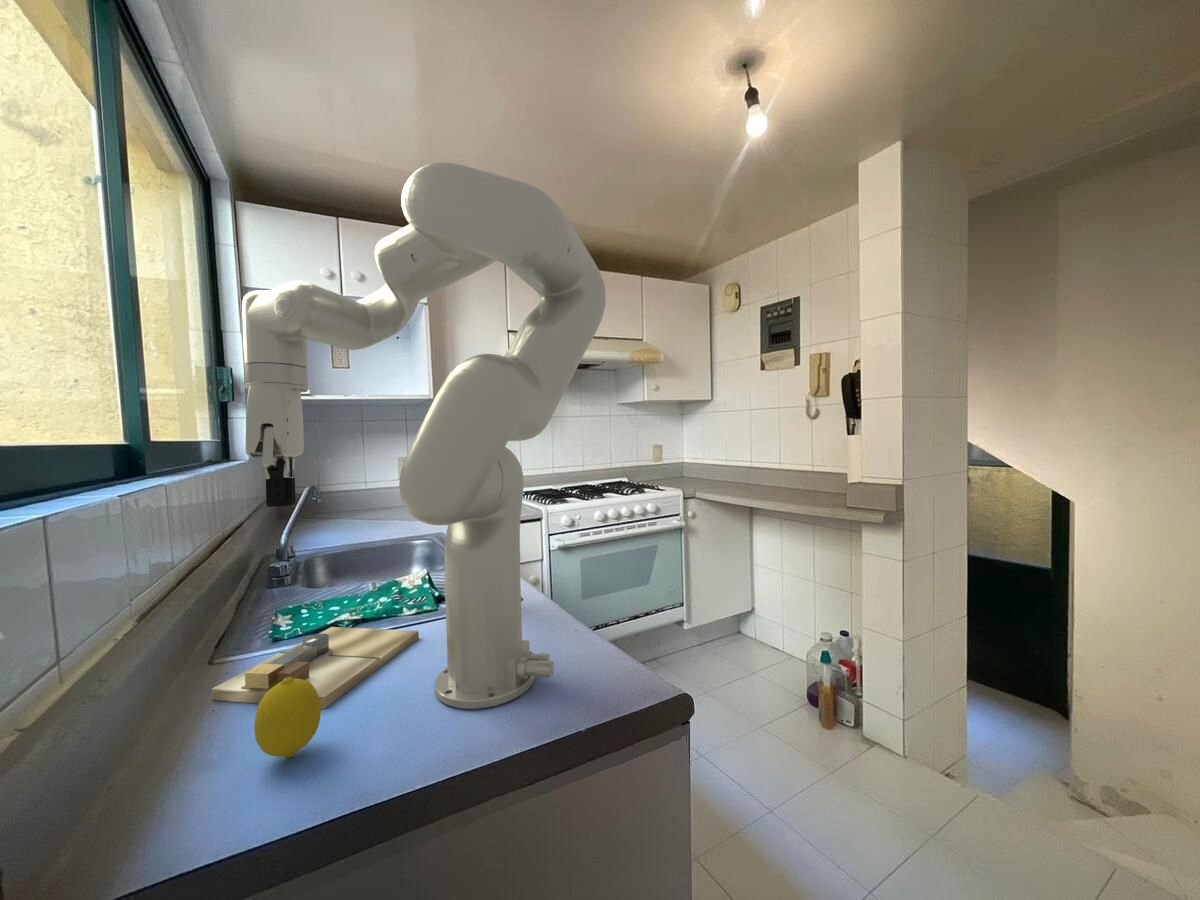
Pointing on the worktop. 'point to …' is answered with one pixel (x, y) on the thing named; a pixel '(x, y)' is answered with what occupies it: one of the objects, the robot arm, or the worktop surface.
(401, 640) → the board
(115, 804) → the worktop surface
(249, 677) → the lock bar
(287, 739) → the lemon
